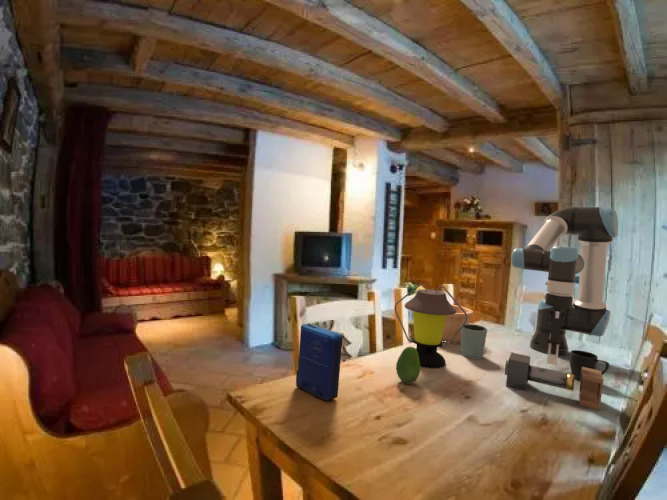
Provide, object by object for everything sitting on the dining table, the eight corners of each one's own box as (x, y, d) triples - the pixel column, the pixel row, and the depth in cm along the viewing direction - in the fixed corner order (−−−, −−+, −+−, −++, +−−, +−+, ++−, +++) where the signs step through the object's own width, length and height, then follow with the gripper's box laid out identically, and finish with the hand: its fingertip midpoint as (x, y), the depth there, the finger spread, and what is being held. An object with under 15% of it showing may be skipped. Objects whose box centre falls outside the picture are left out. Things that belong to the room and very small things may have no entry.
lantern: (468, 367, 144) (475, 288, 142) (439, 377, 132) (446, 292, 130) (415, 348, 163) (421, 278, 161) (385, 355, 151) (391, 280, 149)
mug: (600, 389, 131) (603, 362, 130) (563, 377, 141) (566, 351, 140) (610, 385, 135) (614, 359, 134) (574, 373, 145) (577, 348, 144)
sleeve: (508, 378, 136) (511, 352, 135) (527, 382, 133) (530, 356, 132) (505, 386, 128) (508, 359, 128) (525, 391, 125) (528, 363, 125)
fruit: (423, 383, 127) (426, 347, 126) (411, 389, 121) (414, 352, 120) (403, 375, 132) (406, 341, 131) (390, 381, 126) (393, 345, 125)
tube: (504, 376, 130) (505, 362, 130) (505, 372, 135) (507, 358, 134) (573, 393, 120) (574, 377, 120) (572, 388, 124) (574, 372, 124)
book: (292, 388, 117) (296, 323, 115) (305, 383, 121) (309, 321, 119) (327, 405, 107) (332, 335, 106) (340, 399, 111) (344, 331, 110)
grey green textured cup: (486, 355, 160) (489, 327, 159) (481, 361, 151) (484, 332, 150) (462, 349, 165) (464, 322, 164) (455, 355, 157) (458, 327, 156)
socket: (578, 394, 125) (582, 366, 125) (597, 399, 123) (600, 370, 122) (579, 405, 117) (583, 375, 117) (599, 410, 115) (603, 379, 114)
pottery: (472, 336, 187) (475, 307, 186) (468, 349, 167) (470, 316, 166) (427, 329, 196) (430, 301, 195) (418, 339, 176) (421, 309, 175)
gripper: (547, 288, 136) (540, 346, 137) (544, 296, 115) (537, 366, 116) (572, 291, 132) (565, 351, 133) (574, 300, 111) (566, 372, 112)
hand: (552, 358), depth 125 cm, fingers open, 13 cm apart
